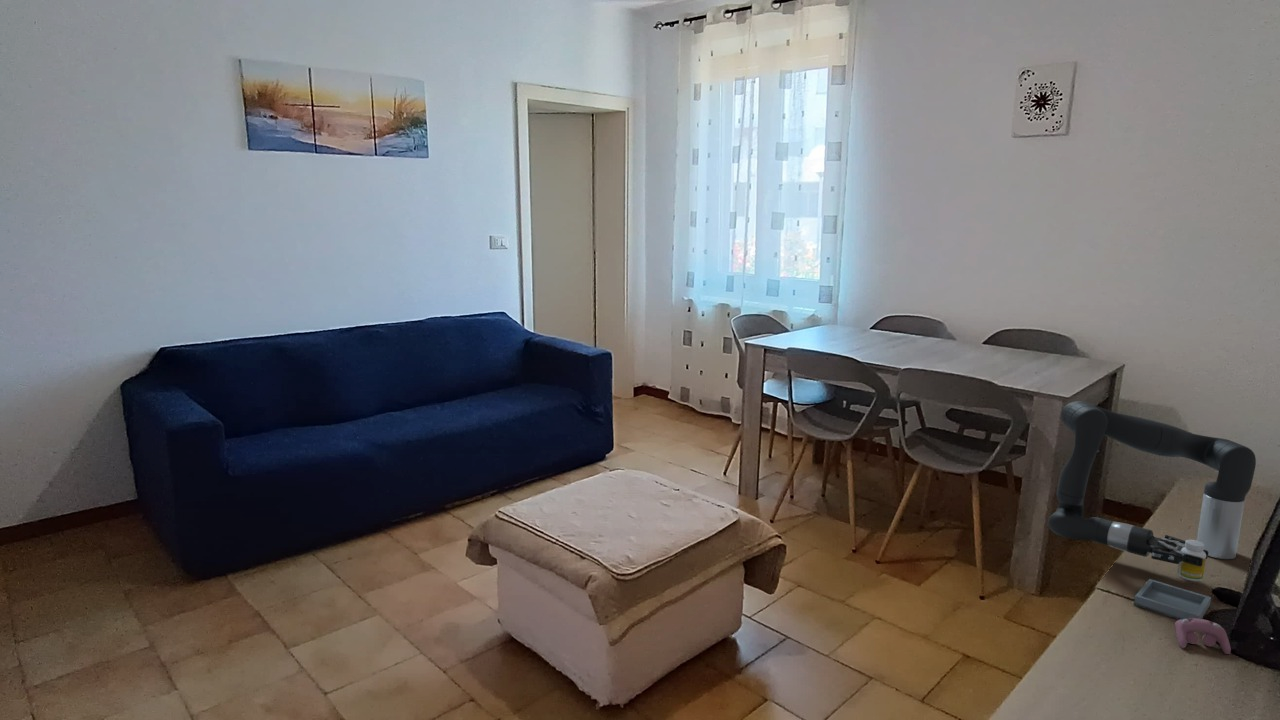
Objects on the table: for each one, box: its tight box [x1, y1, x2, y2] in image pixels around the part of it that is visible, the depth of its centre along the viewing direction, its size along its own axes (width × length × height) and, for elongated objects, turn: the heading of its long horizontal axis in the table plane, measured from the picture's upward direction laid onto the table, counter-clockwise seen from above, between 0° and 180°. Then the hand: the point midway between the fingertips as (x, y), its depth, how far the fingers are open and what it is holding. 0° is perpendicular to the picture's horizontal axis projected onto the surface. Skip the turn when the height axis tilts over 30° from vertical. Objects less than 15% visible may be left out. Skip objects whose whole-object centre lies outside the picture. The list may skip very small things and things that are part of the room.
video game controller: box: [1174, 618, 1232, 655], centre depth 164 cm, size 10×5×7 cm, turn 71°
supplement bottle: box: [1177, 539, 1207, 582], centre depth 192 cm, size 5×5×10 cm
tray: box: [1133, 578, 1212, 620], centre depth 182 cm, size 13×13×2 cm
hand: (1204, 558), depth 190 cm, fingers closed on supplement bottle, 5 cm apart
